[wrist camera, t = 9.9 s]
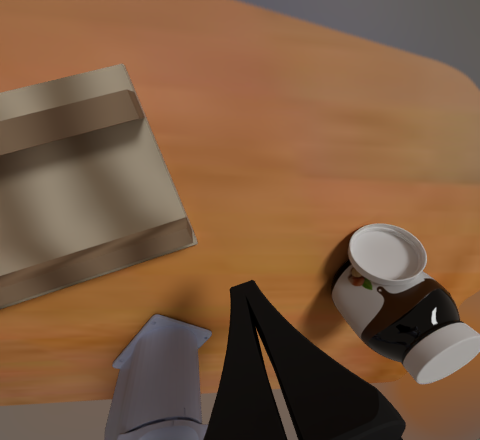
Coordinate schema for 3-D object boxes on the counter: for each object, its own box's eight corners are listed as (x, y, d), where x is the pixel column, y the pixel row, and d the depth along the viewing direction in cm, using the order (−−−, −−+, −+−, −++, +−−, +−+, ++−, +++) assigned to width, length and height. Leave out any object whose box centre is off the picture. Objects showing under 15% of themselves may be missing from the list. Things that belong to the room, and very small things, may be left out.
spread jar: (341, 306, 31) (416, 398, 21) (298, 275, 26) (370, 380, 16) (408, 251, 29) (527, 326, 19) (375, 205, 24) (517, 275, 13)
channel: (124, 65, 13) (98, 45, 9) (197, 240, 20) (200, 272, 16) (-288, 164, 11) (-551, 194, 7) (-48, 320, 18) (-113, 379, 14)
